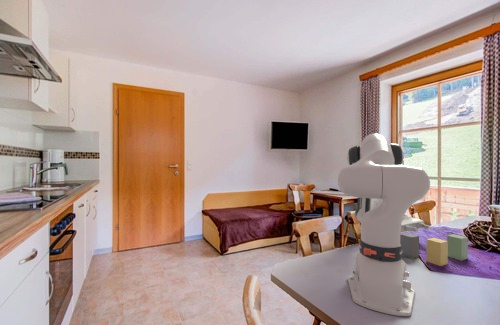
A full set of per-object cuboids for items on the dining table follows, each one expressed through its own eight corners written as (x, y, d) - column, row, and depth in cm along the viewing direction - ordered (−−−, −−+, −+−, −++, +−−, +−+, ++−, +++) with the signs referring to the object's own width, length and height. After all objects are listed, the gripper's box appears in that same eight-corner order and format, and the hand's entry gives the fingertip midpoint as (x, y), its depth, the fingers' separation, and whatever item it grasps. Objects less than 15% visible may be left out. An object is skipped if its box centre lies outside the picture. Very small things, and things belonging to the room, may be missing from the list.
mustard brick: (447, 264, 95) (447, 241, 95) (440, 266, 93) (440, 242, 93) (433, 259, 100) (433, 237, 100) (426, 261, 98) (426, 239, 98)
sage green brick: (467, 258, 101) (467, 237, 101) (461, 260, 99) (461, 238, 99) (453, 254, 105) (453, 234, 105) (447, 256, 103) (447, 235, 103)
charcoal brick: (418, 257, 102) (419, 236, 102) (411, 259, 100) (412, 237, 100) (406, 253, 107) (407, 232, 107) (399, 254, 104) (400, 234, 104)
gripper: (381, 218, 122) (409, 224, 109) (406, 214, 130) (435, 220, 118) (381, 230, 122) (409, 238, 109) (406, 225, 130) (435, 232, 118)
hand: (423, 228), depth 114 cm, fingers open, 8 cm apart
